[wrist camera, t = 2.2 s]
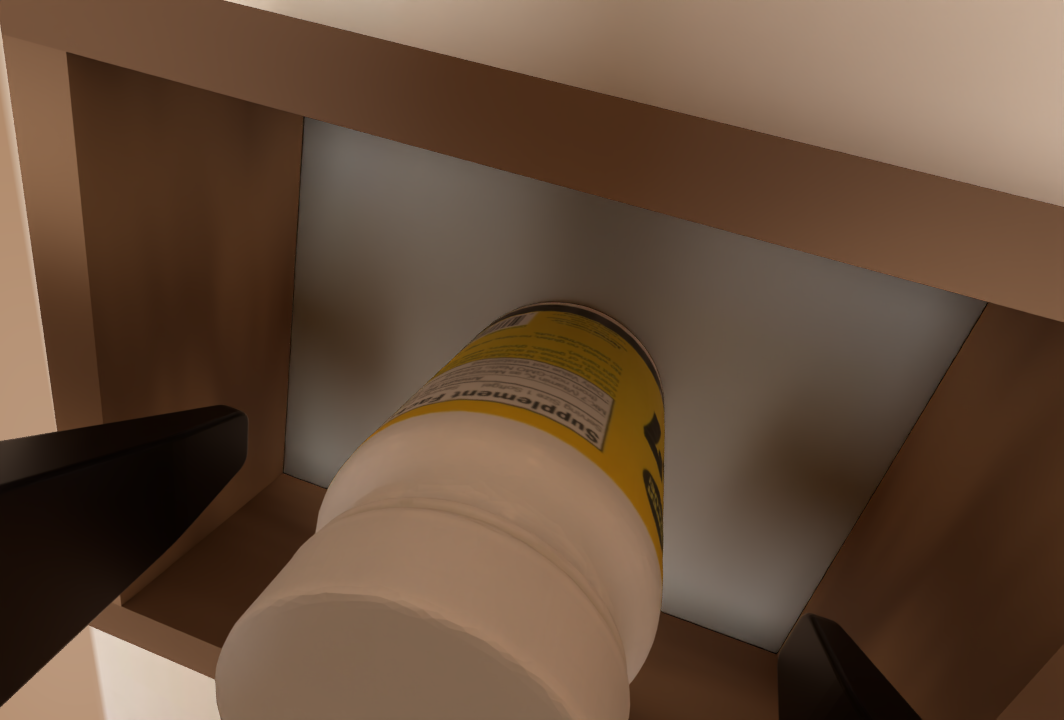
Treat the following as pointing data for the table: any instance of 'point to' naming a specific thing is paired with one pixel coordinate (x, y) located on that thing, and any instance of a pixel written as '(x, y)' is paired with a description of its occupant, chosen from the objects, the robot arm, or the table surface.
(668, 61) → the table surface
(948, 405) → the walnut box
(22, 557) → the robot arm
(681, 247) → the table surface
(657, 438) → the supplement bottle
